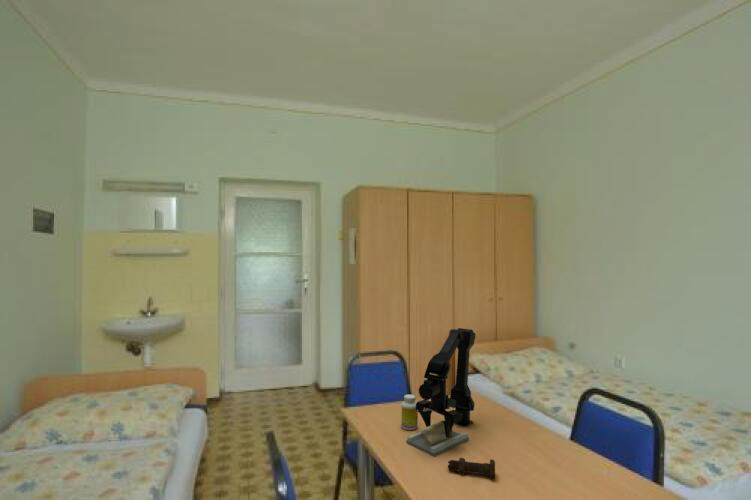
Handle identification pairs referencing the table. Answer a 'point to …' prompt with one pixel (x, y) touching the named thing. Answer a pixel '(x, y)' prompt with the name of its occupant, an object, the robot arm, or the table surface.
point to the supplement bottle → (409, 413)
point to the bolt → (472, 467)
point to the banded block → (435, 433)
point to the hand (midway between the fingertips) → (437, 433)
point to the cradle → (439, 447)
